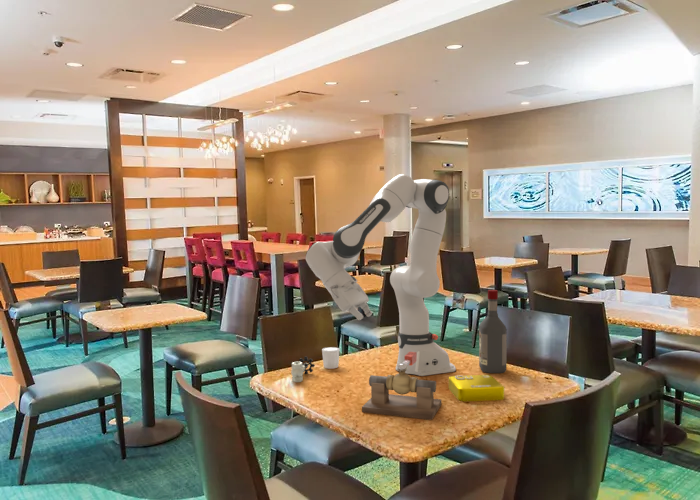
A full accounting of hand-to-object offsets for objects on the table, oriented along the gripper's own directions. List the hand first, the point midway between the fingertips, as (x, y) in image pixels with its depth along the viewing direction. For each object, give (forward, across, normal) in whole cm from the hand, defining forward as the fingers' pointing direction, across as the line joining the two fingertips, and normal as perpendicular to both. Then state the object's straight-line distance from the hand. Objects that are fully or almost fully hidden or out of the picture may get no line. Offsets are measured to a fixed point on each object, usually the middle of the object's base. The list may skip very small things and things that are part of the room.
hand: (366, 317), depth 181 cm
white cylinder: (+3, +28, +33) cm, 44 cm away
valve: (0, +11, +38) cm, 39 cm away
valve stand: (+29, -10, +6) cm, 31 cm away
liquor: (+42, +41, -12) cm, 60 cm away
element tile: (+41, +11, -9) cm, 44 cm away
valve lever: (+20, -4, -2) cm, 21 cm away
